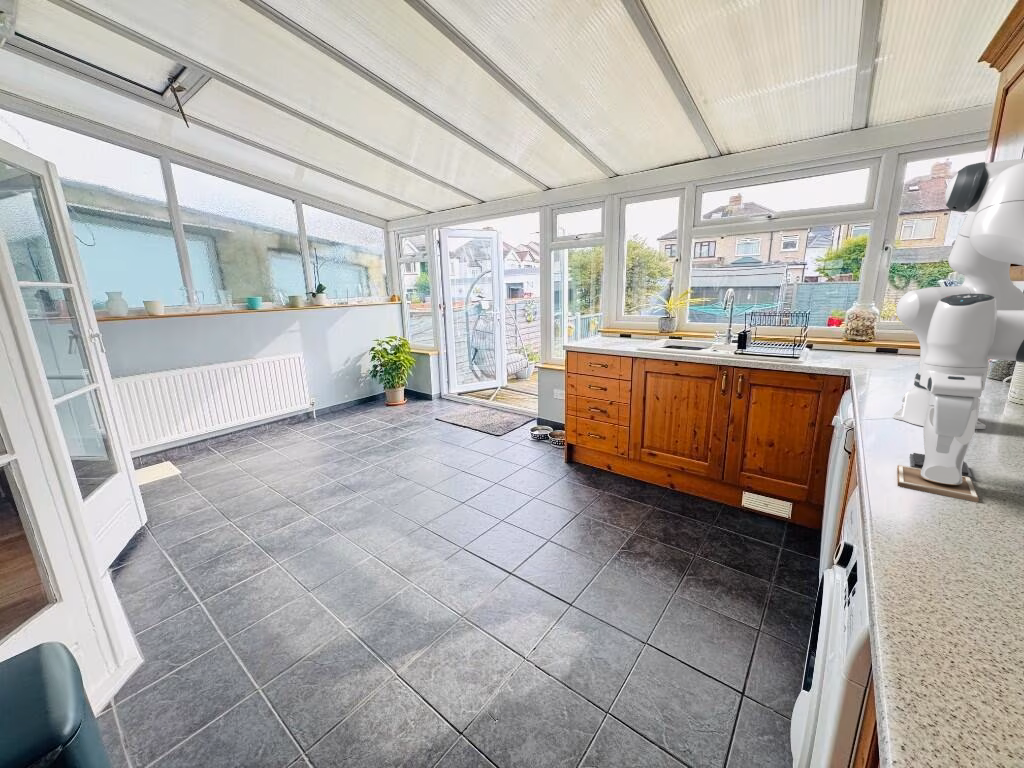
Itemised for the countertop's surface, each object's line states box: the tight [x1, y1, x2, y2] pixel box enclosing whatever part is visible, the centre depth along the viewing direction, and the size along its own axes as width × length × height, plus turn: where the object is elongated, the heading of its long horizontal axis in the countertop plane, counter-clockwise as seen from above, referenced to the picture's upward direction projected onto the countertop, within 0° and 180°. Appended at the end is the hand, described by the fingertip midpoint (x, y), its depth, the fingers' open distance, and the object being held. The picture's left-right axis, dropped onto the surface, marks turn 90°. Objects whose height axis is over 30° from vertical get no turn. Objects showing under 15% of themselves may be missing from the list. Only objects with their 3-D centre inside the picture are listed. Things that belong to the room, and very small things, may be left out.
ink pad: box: [909, 452, 973, 480], centre depth 91 cm, size 9×9×2 cm
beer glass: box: [919, 404, 977, 485], centre depth 82 cm, size 7×7×15 cm
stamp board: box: [896, 464, 980, 503], centre depth 84 cm, size 11×11×1 cm
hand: (939, 445), depth 84 cm, fingers open, 8 cm apart
